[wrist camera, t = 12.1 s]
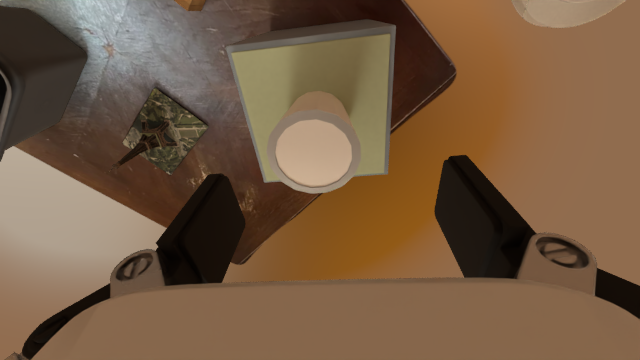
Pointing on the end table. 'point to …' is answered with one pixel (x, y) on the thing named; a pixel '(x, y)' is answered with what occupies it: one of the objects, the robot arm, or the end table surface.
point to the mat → (320, 88)
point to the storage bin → (33, 75)
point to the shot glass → (314, 144)
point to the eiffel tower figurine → (162, 133)
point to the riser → (318, 35)
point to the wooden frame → (191, 4)
